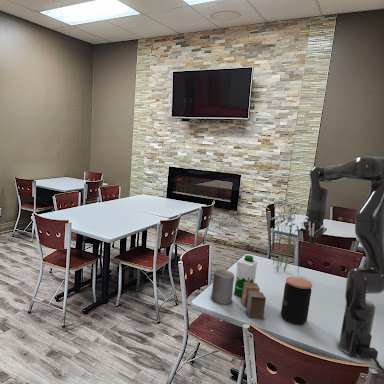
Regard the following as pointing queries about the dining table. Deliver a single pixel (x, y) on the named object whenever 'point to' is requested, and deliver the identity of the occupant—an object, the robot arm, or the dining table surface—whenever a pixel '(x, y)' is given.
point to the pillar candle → (222, 286)
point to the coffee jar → (296, 300)
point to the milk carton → (244, 273)
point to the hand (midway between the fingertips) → (312, 243)
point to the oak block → (246, 289)
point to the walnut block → (256, 304)
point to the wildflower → (287, 235)
